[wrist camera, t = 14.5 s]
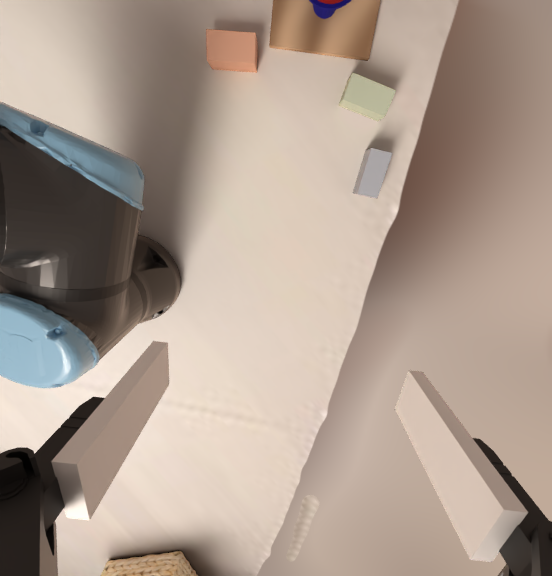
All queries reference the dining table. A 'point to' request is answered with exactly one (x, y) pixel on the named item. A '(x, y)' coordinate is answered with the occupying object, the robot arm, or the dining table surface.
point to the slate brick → (372, 172)
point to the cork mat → (324, 28)
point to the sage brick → (366, 97)
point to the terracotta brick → (232, 50)
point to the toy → (327, 7)
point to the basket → (150, 566)
